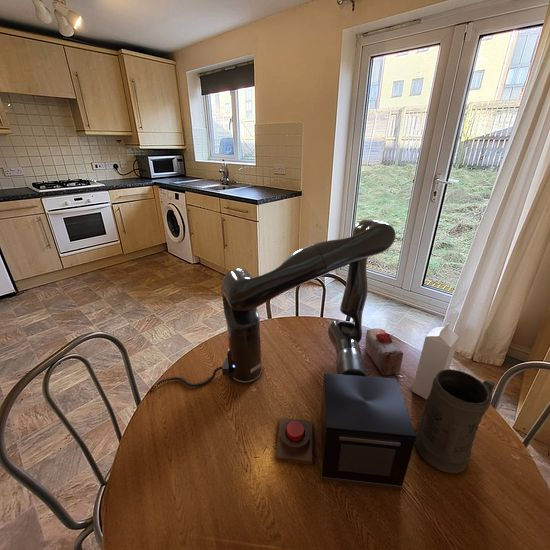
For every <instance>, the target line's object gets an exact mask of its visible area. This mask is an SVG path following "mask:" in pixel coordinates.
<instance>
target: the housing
mask: <svg viewBox="0 0 550 550" xmlns="http://www.w3.org/2000/svg"><path fill="white" fill-rule="evenodd" d="M293 421H297V422H299V423H301V424H302V425H303V427H304V436H303V438H302V440H300V441H298V442H293V441H291V440H289V439H288V437H287V425H288V424H289V423H290V422H293ZM275 461H277V462H285V463H296V464H304V465H313V421H312V420H305V419H304V420H303V419H293V418H282V417H280V418H279V426H278V433H277V442H276V450H275Z"/></svg>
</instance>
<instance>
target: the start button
mask: <svg viewBox="0 0 550 550" xmlns="http://www.w3.org/2000/svg"><path fill="white" fill-rule="evenodd" d="M303 436H304V427H303V425H302V424H301V423H299V422H297V421H293V422H290V423H289V424H288V425H287V437H288V439H289V440H291V441H293V442H298V441H300V440H302V438H303Z"/></svg>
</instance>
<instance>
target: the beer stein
mask: <svg viewBox="0 0 550 550" xmlns="http://www.w3.org/2000/svg"><path fill="white" fill-rule="evenodd" d="M495 386H496V383H495V382H494V380H493V381H492V380H489V379H486V380H484V381H483V382H482V381H481V380H480V379H479V378H476V377H475V376H473V375H472V374H469V373H467V372H465V371H461V370H457V369H449V370H448V369H447V370H442V371H440V372H438V374H437V375H436V377H435V378H434V379H433V383H432V388H431V392H430V395H429V396H428V397H427V400H426V399H425V402H424V406H423V410H422V413H421V416H420V419H419V423H418V428H417V432H415V433H416V440H415V443H414V446H415V448H416V450H417V452H418V454H419V455H420V457H421V458H422V459H423V460H424V461H425V462H427V463H428V464H429V465H431V466H432V467H434V468H435V469H436V470H439V471H440V472H444V473H448V474H458V473H461V472H463V471H464V470H466V468H467V466H468V464H469V459H470V458H471V454H472V448H473V444H474V440H475V439H476V434H477V431H478V428H479V426H480V423H481V421H482V419H483V416H484V415H485V413H486V412H487V411H488V410H489V408H490V405H491V403H492V399H493V392H494V388H495Z"/></svg>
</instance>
